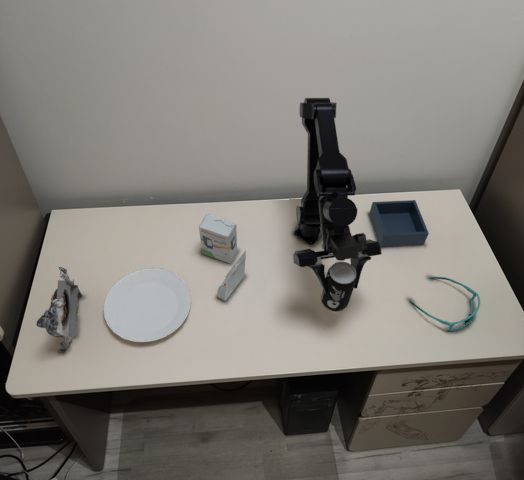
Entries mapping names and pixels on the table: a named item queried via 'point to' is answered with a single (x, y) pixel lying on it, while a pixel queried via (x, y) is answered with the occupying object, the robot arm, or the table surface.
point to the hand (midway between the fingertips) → (340, 290)
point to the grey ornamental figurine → (62, 311)
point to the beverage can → (339, 286)
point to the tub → (398, 223)
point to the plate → (147, 305)
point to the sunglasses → (466, 320)
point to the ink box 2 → (232, 278)
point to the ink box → (218, 238)
